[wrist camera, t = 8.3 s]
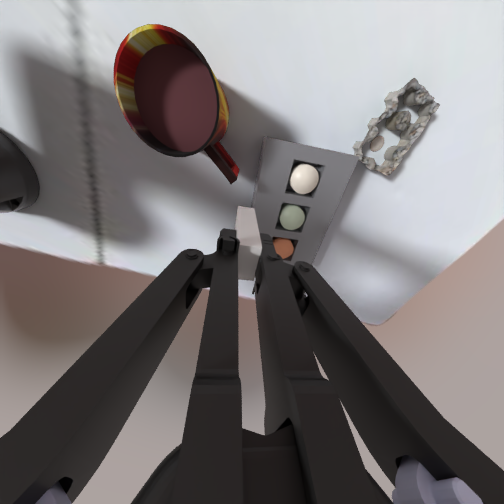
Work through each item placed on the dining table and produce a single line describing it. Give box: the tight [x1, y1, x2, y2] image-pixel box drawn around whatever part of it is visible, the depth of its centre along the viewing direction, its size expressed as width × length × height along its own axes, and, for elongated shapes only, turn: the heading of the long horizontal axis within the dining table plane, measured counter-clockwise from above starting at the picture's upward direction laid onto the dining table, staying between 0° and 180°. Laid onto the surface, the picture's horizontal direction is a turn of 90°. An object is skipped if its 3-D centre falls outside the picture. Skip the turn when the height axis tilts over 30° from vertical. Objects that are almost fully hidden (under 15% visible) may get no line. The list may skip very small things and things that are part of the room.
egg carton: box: [353, 78, 440, 176], centre depth 28 cm, size 11×8×4 cm
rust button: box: [272, 236, 294, 259], centre depth 37 cm, size 4×4×3 cm
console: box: [251, 136, 359, 265], centre depth 34 cm, size 14×22×5 cm, turn 170°
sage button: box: [278, 203, 305, 230], centre depth 33 cm, size 4×4×3 cm
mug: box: [114, 24, 239, 184], centre depth 23 cm, size 10×14×12 cm
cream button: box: [288, 162, 319, 194], centre depth 30 cm, size 4×4×3 cm
